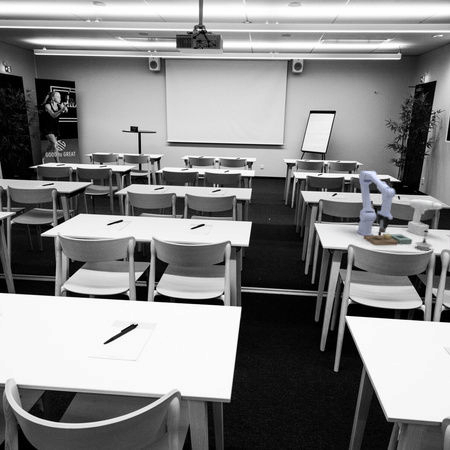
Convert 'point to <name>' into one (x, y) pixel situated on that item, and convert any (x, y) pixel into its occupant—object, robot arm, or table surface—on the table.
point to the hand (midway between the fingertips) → (382, 227)
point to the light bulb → (423, 244)
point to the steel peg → (382, 227)
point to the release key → (387, 236)
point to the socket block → (380, 240)
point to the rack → (401, 239)
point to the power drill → (419, 209)
